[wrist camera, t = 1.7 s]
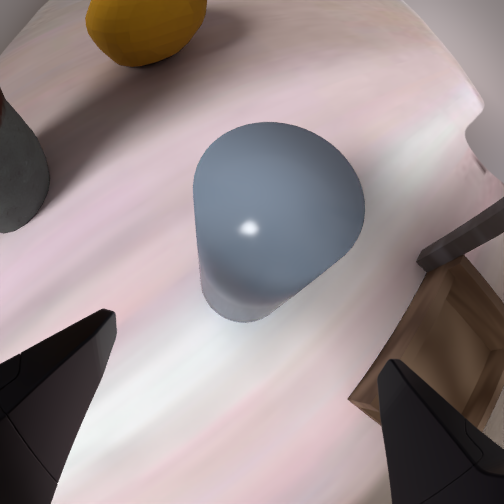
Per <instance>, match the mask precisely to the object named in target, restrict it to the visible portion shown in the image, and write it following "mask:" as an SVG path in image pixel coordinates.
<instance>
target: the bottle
mask: <svg viewBox="0 0 504 504" xmlns="http://www.w3.org/2000/svg"><path fill="white" fill-rule="evenodd" d="M49 181H50V177H49V171H48V166H47V161H46V157H45V155H44V153H43V150H42V148H41V146H40V143H39V141H38V139H37V137H36V136H35V134H34V133H33V131H32V130H31V129H30V128H29V126H28V125H27V124H26V123H25V122H24V120H23V119H22V118H21V117H20V115H19V114H18V113H17V112H16V111H15V110H14V108H13V107H12V106H11V105H10V104H9V103H8V102H7V100H6V99H5V97H4V95H3V93H2V90H1V88H0V233H8V232H12V231H15V230H17V229H19V228H20V227H22V226H24V225H25V224H26V223H27V222H28V221H29V220H30V219H31V218H32V217H33V216H34V215H35V214H36V213H37V211H38V210H39V208H40V207H41V205H42V204H43V202H44V199H45V197H46V194H47V192H48V188H49Z"/></svg>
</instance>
